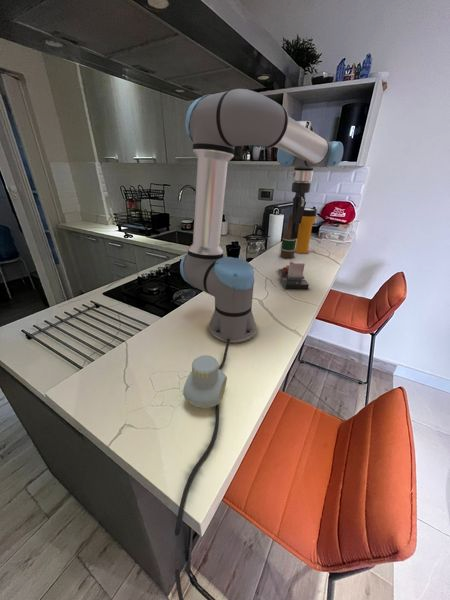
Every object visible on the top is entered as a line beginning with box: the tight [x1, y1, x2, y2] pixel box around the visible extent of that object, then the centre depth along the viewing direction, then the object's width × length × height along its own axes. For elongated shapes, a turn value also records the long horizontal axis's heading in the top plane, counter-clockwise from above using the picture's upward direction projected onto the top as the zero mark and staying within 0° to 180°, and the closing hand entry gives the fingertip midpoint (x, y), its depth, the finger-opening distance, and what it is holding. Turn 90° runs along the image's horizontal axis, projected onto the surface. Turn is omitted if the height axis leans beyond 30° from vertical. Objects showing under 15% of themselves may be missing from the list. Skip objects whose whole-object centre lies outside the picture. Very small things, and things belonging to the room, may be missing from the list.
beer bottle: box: [280, 213, 297, 260], centre depth 145 cm, size 8×8×24 cm
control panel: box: [280, 274, 310, 291], centre depth 117 cm, size 11×10×3 cm
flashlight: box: [294, 207, 318, 254], centre depth 154 cm, size 10×26×10 cm
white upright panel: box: [287, 260, 305, 280], centre depth 114 cm, size 6×2×8 cm, turn 90°
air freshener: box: [182, 354, 228, 409], centre depth 59 cm, size 11×8×10 cm
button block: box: [278, 266, 288, 276], centre depth 126 cm, size 10×8×3 cm
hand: (293, 238), depth 118 cm, fingers closed
